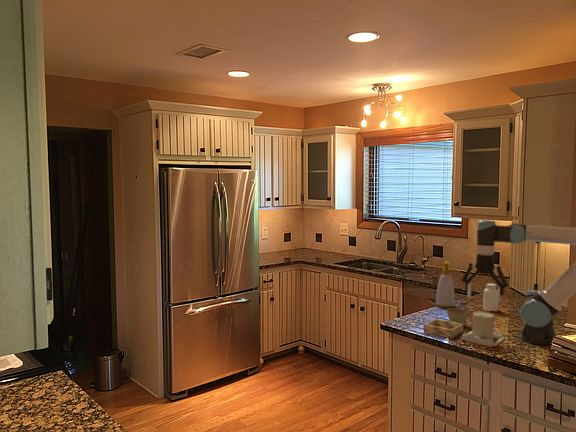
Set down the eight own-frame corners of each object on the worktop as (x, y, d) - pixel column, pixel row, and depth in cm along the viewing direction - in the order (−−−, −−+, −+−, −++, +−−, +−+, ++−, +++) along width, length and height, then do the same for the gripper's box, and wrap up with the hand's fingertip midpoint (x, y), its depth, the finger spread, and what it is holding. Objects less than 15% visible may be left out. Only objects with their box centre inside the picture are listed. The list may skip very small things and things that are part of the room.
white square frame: (504, 339, 222) (504, 332, 221) (494, 347, 210) (494, 340, 210) (470, 332, 232) (471, 325, 231) (459, 339, 220) (459, 332, 220)
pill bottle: (479, 309, 276) (480, 283, 275) (489, 307, 279) (490, 282, 278) (491, 312, 269) (492, 286, 268) (501, 311, 272) (502, 285, 271)
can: (468, 338, 222) (469, 313, 221) (477, 334, 228) (478, 310, 227) (487, 343, 215) (488, 317, 214) (496, 339, 221) (498, 314, 220)
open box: (463, 331, 233) (463, 323, 232) (451, 338, 222) (452, 330, 222) (435, 325, 242) (435, 318, 241) (423, 332, 231) (423, 324, 231)
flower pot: (462, 321, 250) (462, 308, 249) (470, 327, 240) (470, 313, 239) (443, 321, 250) (444, 308, 249) (450, 327, 240) (451, 313, 239)
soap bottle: (456, 304, 286) (457, 261, 285) (454, 308, 276) (455, 264, 274) (436, 302, 291) (438, 259, 289) (433, 306, 281) (435, 262, 279)
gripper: (516, 255, 214) (515, 302, 215) (461, 250, 230) (460, 294, 232) (511, 257, 208) (510, 305, 210) (455, 252, 225) (454, 296, 226)
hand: (483, 299), depth 221 cm, fingers open, 13 cm apart
